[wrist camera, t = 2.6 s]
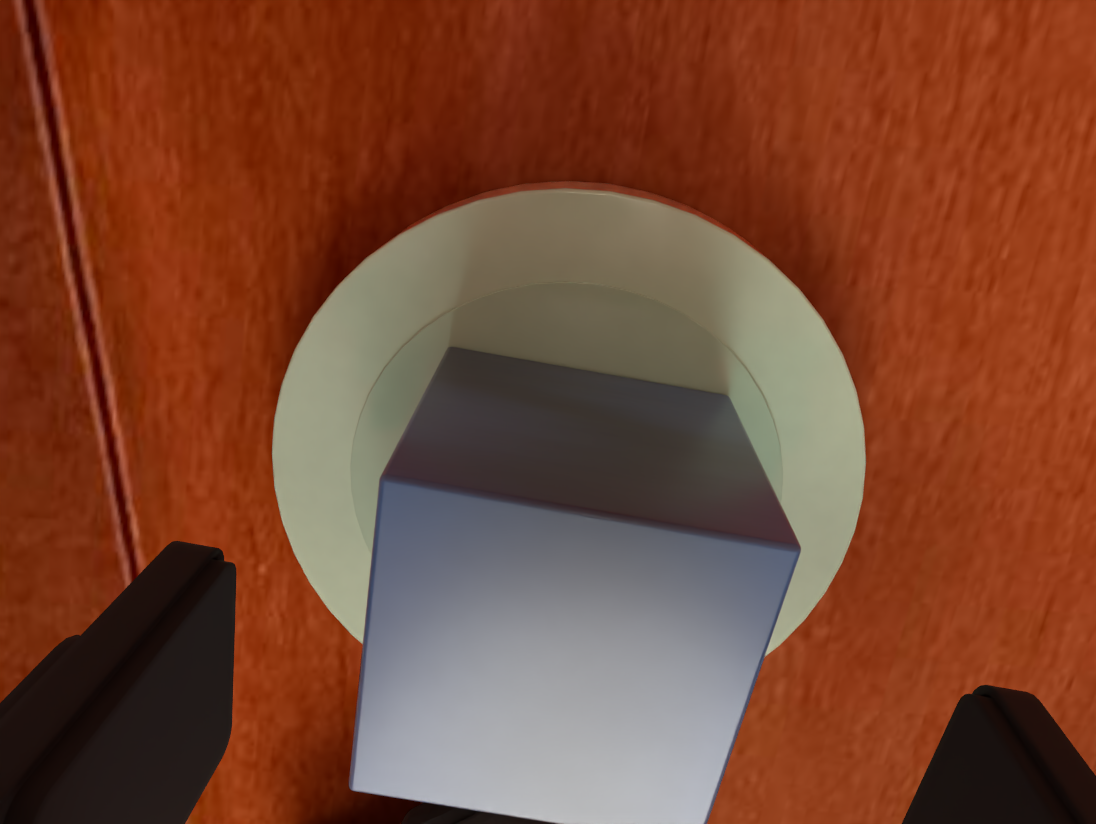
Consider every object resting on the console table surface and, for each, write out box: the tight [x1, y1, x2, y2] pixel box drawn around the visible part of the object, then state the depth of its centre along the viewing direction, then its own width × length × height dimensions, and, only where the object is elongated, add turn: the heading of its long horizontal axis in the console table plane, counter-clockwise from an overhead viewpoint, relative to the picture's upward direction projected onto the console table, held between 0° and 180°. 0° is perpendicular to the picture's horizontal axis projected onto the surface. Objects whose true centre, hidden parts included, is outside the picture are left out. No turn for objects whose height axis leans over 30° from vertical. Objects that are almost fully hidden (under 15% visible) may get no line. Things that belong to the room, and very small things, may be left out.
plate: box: [272, 181, 866, 656], centre depth 15 cm, size 11×11×1 cm
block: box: [349, 347, 801, 824], centre depth 12 cm, size 5×5×5 cm
